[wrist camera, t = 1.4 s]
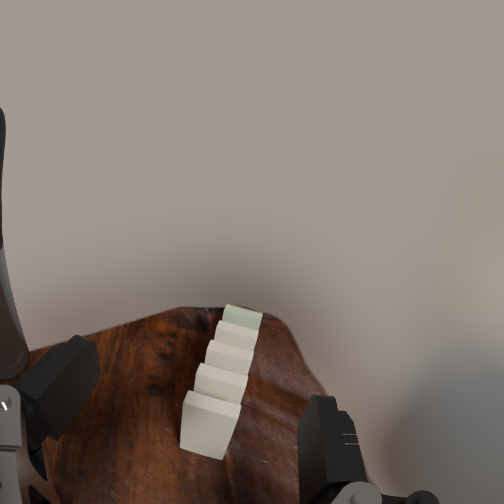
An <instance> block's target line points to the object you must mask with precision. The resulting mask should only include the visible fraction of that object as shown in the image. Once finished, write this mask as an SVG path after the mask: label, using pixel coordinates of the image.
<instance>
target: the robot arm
mask: <svg viewBox="0 0 504 504" xmlns="http://www.w3.org/2000/svg"><path fill="white" fill-rule="evenodd" d="M5 124H6V123H5V117H4V113H3V111H2V109H1V108H0V380H6V379H10V378H13V377H15V376H17V375H18V374H20V373H21V372H22V371H23V370H24V369H25V367H26V365H27V363H28V360H29V350H28V347H27V344H26V341H25V338H24V335H23V332H22V328H21V325H20V322H19V318H18V314H17V311H16V307H15V303H14V299H13V295H12V290H11V286H10V281H9V276H8V271H7V265H6V260H5V253H4V246H3V236H2V201H1V189H2V188H1V187H2V170H3V159H4V148H5V135H6V125H5ZM99 377H100V369H99V363H98V357H97V350H96V344H95V342H94V341H92V340H89V339H87V338H84V337H82V336H79V335H75V336H73V337H72V338H71V339H70V340H69V341H68V342H67V343H61V344H58V345H56V346H54V347H52V348H51V349H50V350H49V351H48V352H47V353H46V354H45V355H44V357H42V358H41V359H40V360H38V363H35V364H34V365H33V366H32V367H31V368H30V369H29V370H28V371H27V372H26V373H25V374H24V375H23V376H22V377H21V379H20V380H19V381H18V382H17V383H16V384H15V385H13V386H12V387H11V386H9V385H0V504H61V502H60V500H59V497H58V495H57V493H56V492H55V490H54V487H53V484H52V480H51V476H50V471H49V465H48V460H47V453H46V447H45V442H44V440H45V438H46V437H47V436H49V437H50V438H52V439H54V440H55V441H58V439H59V438H60V436H61V435H62V433H63V432H64V430H65V429H66V428H67V426H68V425H69V423H70V422H71V420H72V419H73V417H74V416H75V414H76V413H77V412H78V410H79V409H80V407H81V406H82V405H83V403H84V402H85V400H86V399H87V397H88V396H89V395H90V393H91V392H92V391H93V389H94V388H95V386H96V385H97V383H98V380H99ZM297 447H298V469H299V498H300V504H439V501H438V499H437V498H436V497H435V495H433V494H432V493H430V492H428V491H417V492H414V493H412V494H411V495H410V496H408V497H407V498H404V497H395V496H388V495H383V494H381V493H380V492H379V491H378V489H377V488H376V487H374V486H373V485H371V484H369V483H368V481H367V477H366V473H365V468H364V464H363V459H362V455H361V451H360V446H359V445H358V438H357V436H356V430H355V426H354V422H353V420H352V419H351V418H350V416H349V415H348V414H347V412H346V411H338V408H337V403H336V399H335V397H333V396H322V395H312V397H311V398H310V400H309V403H308V405H307V407H306V409H305V411H304V413H303V415H302V417H301V419H300V421H299V424H298V429H297Z"/></svg>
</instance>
